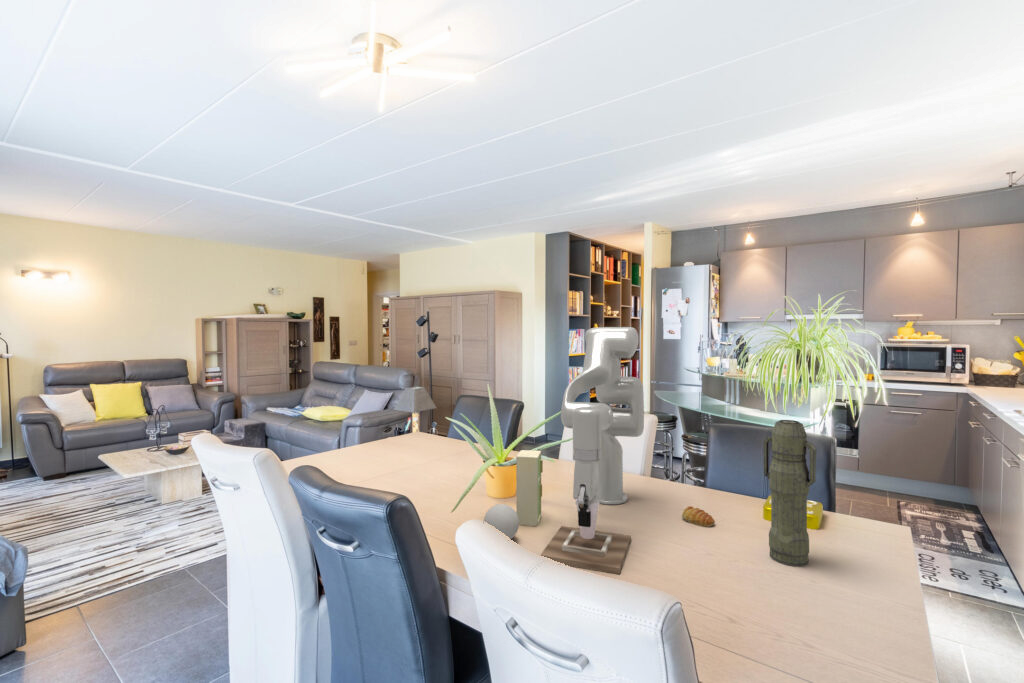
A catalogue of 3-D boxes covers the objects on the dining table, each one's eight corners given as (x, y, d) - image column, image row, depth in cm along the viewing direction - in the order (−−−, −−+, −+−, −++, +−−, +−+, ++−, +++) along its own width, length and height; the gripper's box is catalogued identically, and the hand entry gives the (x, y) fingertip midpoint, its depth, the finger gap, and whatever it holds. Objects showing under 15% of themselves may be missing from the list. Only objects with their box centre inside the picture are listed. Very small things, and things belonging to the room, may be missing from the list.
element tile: (769, 506, 164) (769, 492, 164) (823, 516, 155) (823, 500, 155) (761, 520, 152) (761, 505, 151) (819, 532, 143) (819, 515, 143)
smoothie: (573, 531, 134) (572, 480, 134) (596, 530, 135) (596, 479, 135) (578, 541, 128) (577, 488, 128) (602, 540, 128) (602, 487, 128)
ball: (524, 536, 141) (524, 501, 141) (510, 551, 132) (510, 513, 132) (493, 531, 145) (493, 497, 145) (477, 544, 136) (476, 508, 136)
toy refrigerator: (540, 527, 148) (539, 457, 147) (516, 525, 149) (515, 456, 149) (544, 517, 155) (543, 450, 155) (521, 515, 157) (520, 449, 156)
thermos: (812, 572, 119) (812, 427, 118) (758, 557, 126) (759, 421, 125) (819, 559, 125) (819, 421, 124) (768, 546, 133) (768, 416, 132)
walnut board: (561, 530, 144) (561, 521, 144) (631, 540, 137) (631, 531, 137) (540, 560, 126) (540, 550, 126) (619, 574, 119) (619, 563, 118)
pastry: (720, 525, 148) (719, 512, 148) (705, 530, 144) (705, 517, 144) (693, 515, 156) (693, 503, 156) (679, 520, 152) (679, 508, 152)
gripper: (580, 445, 140) (581, 508, 141) (564, 460, 124) (565, 531, 125) (607, 447, 138) (607, 512, 138) (594, 463, 122) (594, 536, 122)
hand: (587, 520), depth 131 cm, fingers closed on smoothie, 6 cm apart
